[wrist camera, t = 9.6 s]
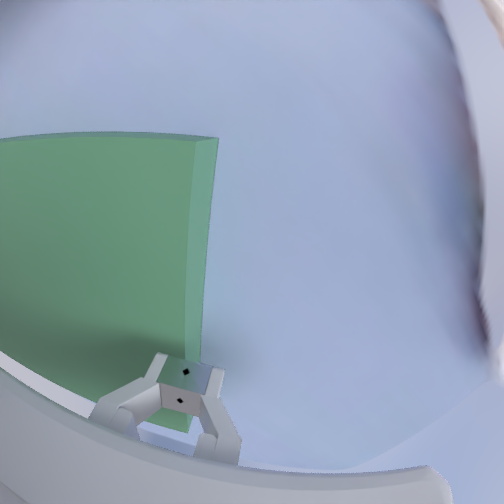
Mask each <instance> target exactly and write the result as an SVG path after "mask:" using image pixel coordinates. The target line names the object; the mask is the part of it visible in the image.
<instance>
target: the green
mask: <svg viewBox="0 0 504 504" xmlns="http://www.w3.org/2000/svg"><path fill="white" fill-rule="evenodd" d="M218 140H219V138H214V137H204V136H193V135H181V134H166V133H147V132H72V133H54V134H40V135H29V136H20V137H11V138H3V139H0V351H2V352H3V353H5V354H7V355H8V356H9V357H11V358H12V359H14V360H15V361H17V362H19V363H20V364H22V365H24V366H25V367H27V368H28V369H30V370H32V371H34V372H35V373H37V374H39V375H41V376H42V377H44V378H46V379H48V380H50V381H52V382H54V383H56V384H57V385H59V386H61V387H63V388H65V389H67V390H69V391H71V392H74V393H76V394H78V395H80V396H82V397H84V398H87V399H89V400H91V401H93V402H96V403H97V402H98V400H99V399H100V398H101V397H103V396H105V395H107V394H109V393H111V392H113V391H115V390H117V389H119V388H121V387H123V386H125V385H127V384H129V383H130V382H132V381H134V380H136V379H138V378H140V377H142V378H144V377H145V375H146V373H147V371H148V369H149V367H150V365H151V363H152V361H153V359H154V357H155V355H156V354H157V353H158V352H160V353H163V354H167V355H170V356H174V357H177V358H181V359H184V360H187V361H193V362H197V363H200V348H201V327H202V309H203V293H204V279H205V266H206V253H207V242H208V230H209V220H210V210H211V200H212V191H213V181H214V173H215V164H216V156H217V148H218ZM192 418H193V415H190V414H186V413H183V412H180V411H176V410H172V409H168V408H164V407H162V408H161V409H159V410H158V411H157V412H155V413H154V414H153V415H151V416H150V417H148V418H147V419H146V420H144V421H147V422H150V423H153V424H156V425H159V426H163V427H166V428H170V429H173V430H177V431H181V432H185V433H188V431H189V428H190V424H191V421H192Z"/></svg>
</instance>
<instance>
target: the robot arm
mask: <svg viewBox="0 0 504 504" xmlns="http://www.w3.org/2000/svg"><path fill="white" fill-rule="evenodd" d="M224 373H225V369H223V368H218V367H214V366H210V365H206V364H201V363H197V362H193V361H187V360H184V359H181V358H177V357H174V356H170V355H167V354H163V353H160V352H158V353H157V354H156V355H155V357H154V359H153V361H152V363H151V365H150V367H149V369H148V371H147V373H146V375H145V377H144V378H142V377H140V378H138V379H136V380H134V381H132V382H130V383H129V384H127V385H125V386H123V387H121V388H119V389H117V390H115V391H113V392H111V393H109V394H107V395H105V396H103V397H101V398H100V399H99V400H98V402H97V404H96V405H95V407H94V409H93V411H92V413H91V414H90V416H89V418H88V419H87V418H85V417H82V416H80V415H78V414H76V413H74V412H72V411H71V410H68V409H67V408H65V407H63V406H61V405H59V404H57V403H55V402H54V401H52V400H50V399H48V398H47V397H45V396H43V395H42V394H40V393H38V392H37V391H35V390H33V389H32V388H30V387H29V386H27V385H26V384H24V383H22V382H21V381H19V380H18V379H16V378H15V377H14V376H12V375H11V374H9V373H8V372H6V371H5V370H4V369H2V368H1V367H0V504H453V498H452V492H451V488H450V485H449V483H448V482H447V481H446V480H445V479H444V478H443V477H442V476H441V475H440V474H439V473H438V472H437V471H436V470H434V469H433V468H432V467H430V466H427V465H426V466H417V467H411V468H404V469H397V470H388V471H378V472H363V473H335V474H333V473H331V474H330V473H329V474H328V473H326V474H324V473H297V472H283V471H273V470H264V469H257V468H249V467H243V466H238V460H239V454H240V448H241V442H242V440H241V438H240V436H239V434H238V432H237V430H236V428H235V426H234V424H233V422H232V420H231V418H230V416H229V414H228V412H227V410H226V408H225V406H224V404H223V402H222V400H221V399H220V395H221V390H222V385H223V379H224ZM162 407H164V408H168V409H172V410H176V411H180V412H183V413H186V414H190V415H193V416H197V417H199V419H200V422H201V425H202V428H203V430H204V433H202V434H200V435H199V438H198V442H197V445H196V448H195V452H194V455H193V456H190V455H186V454H182V453H178V452H175V451H171V450H168V449H165V448H161V447H158V446H155V445H152V444H149V443H146V442H143V441H140V438H139V434H138V431H137V427H136V426H137V425H139V424H140V423H141V422H143V421H144V420H146V419H147V418H148V417H150V416H151V415H153V414H154V413H155V412H157V411H158V410H159V409H161V408H162Z"/></svg>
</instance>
